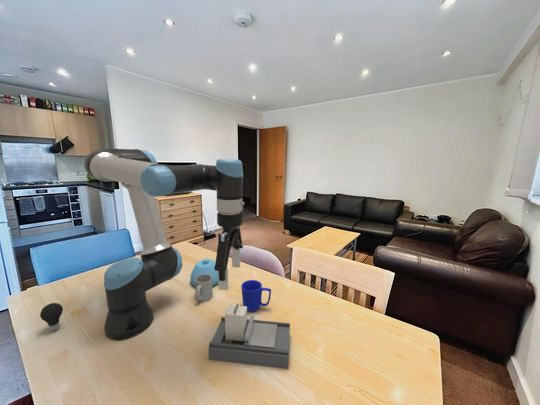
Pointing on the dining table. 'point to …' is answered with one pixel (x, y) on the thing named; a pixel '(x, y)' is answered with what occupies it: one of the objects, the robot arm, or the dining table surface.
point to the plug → (235, 323)
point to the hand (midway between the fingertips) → (230, 277)
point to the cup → (203, 287)
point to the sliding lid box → (251, 348)
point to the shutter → (260, 334)
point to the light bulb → (52, 315)
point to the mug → (253, 294)
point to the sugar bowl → (205, 270)
